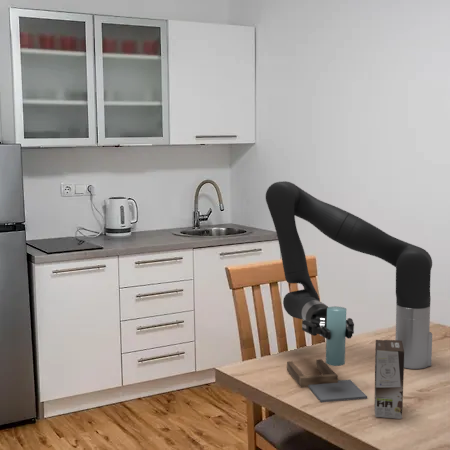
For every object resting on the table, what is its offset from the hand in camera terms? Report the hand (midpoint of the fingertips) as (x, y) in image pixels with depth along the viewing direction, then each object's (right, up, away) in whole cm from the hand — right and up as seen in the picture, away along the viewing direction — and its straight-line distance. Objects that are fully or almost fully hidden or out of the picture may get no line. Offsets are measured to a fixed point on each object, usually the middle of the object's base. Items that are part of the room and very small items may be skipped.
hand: (339, 335), depth 170 cm
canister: (-1, -8, +4) cm, 8 cm away
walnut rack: (-5, -14, +16) cm, 21 cm away
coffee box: (+10, -17, -8) cm, 21 cm away
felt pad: (0, -15, +4) cm, 16 cm away
